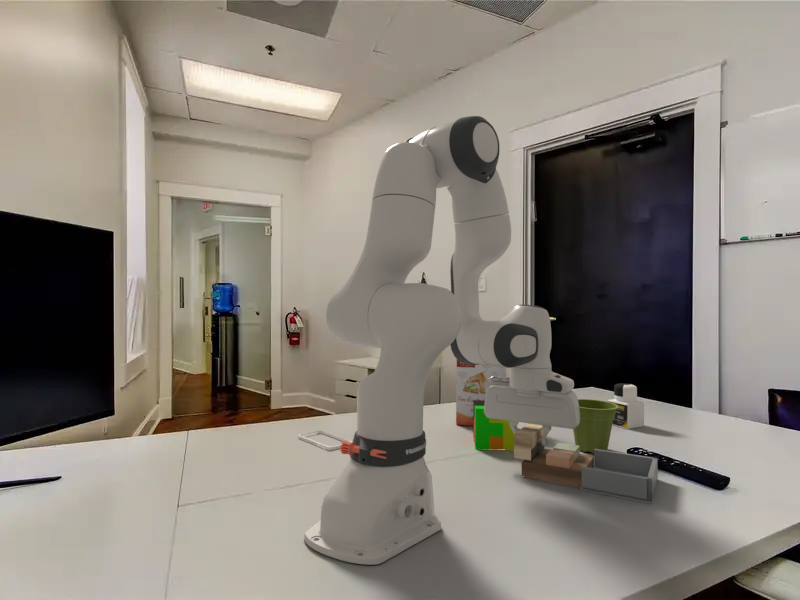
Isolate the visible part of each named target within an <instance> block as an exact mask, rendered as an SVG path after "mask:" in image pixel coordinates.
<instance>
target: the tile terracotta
mask: <svg viewBox="0 0 800 600" xmlns="http://www.w3.org/2000/svg"><path fill="white" fill-rule="evenodd" d="M550 449H551V450H550V451H549V452H548V453H547V454H546V465H550V466H556V467H562V468H567V469H569V468H570V467H571V466H572V464H573V463H574V453H573V452H567V451H560V450H554V449H553V448H550Z"/></svg>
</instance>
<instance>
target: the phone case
mask: <svg viewBox="0 0 800 600" xmlns="http://www.w3.org/2000/svg"><path fill="white" fill-rule="evenodd" d="M313 433H316V435H324V436H327V437H329V438H333V439H335V440H337V441H340V442H343V441H348V442H350V443H351V442H353V440H350V439H347V438H344V437H341V436H339V435H335V434H334V433H330V432H327V431H325V430H315V431H310V432H305V433H300V434H298V436H297V437H298V439H299V440H301V441H304V442H306V443H309V444H311V445H314V446H317V445H318V446H320V447H323V448H324V450H326V451H330V452H331V451H334V450H335V451H336V450H338V449H339V450H340V448H341V447H340V445H342V444H341V443H340V444H337V445H331V446H329V445H326V444H325V443H324V444H323V443H321V442H318V441H315V440H314V439H311V438H308V437H305V435H309V434H313Z"/></svg>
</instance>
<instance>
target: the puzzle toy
mask: <svg viewBox="0 0 800 600" xmlns="http://www.w3.org/2000/svg"><path fill="white" fill-rule="evenodd" d="M484 405H485V401H480V400H473V426H472V427H473V429H472V430H473V432H472V433H473V434H472V435H473V437H472V438H474V439H473V443H475V444H474V448H475V449H474V450H482V449H505V450H504V451H513V450H514V433H513V431H512V429H511V428H510V426H509V421H508V420H500V419H492V418H487V417H486V415H485V414H484Z"/></svg>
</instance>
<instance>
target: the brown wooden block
mask: <svg viewBox="0 0 800 600" xmlns="http://www.w3.org/2000/svg"><path fill="white" fill-rule="evenodd" d="M551 449H552V448H546V447H544V448H543V449H542V450H541V451H540V452H539V453H538V454H537V455H536V456H535V457H534V458H533V459H532V460H531V461H530V460H524V459H522V461H521V477H522V476H524V477H523V478H527V477H528V479H532V478H534V479H533V480H537V479H538V481H544V482H548V483H552V484H553V483H554V484H558V485H564V486H569V487H573V488H574V487H575V488H579V489H582V466H583V467H589V468H594V455H590V454H589V455H588V454H584V453H580V455H579V456H578V458H577V459H576V460H575V461H574V463H573V464H572V466H571V467H570V468H569V469H567V468H562V467H556V466H550V465H546V454H547V453H548V452H549V451H550V450H551Z"/></svg>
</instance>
